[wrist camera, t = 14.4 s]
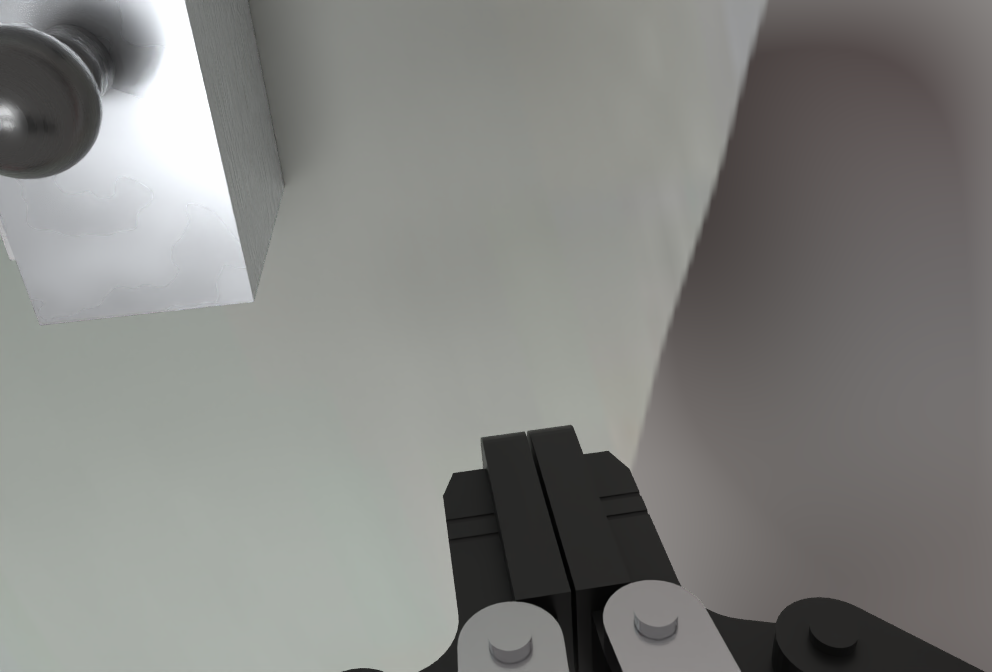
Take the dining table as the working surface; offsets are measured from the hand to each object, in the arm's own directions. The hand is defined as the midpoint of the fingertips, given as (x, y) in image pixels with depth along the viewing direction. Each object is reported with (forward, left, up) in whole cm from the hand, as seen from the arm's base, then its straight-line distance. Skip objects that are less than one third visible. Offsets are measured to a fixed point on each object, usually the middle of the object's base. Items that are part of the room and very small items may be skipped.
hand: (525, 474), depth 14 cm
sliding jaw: (-8, +6, -16) cm, 19 cm away
